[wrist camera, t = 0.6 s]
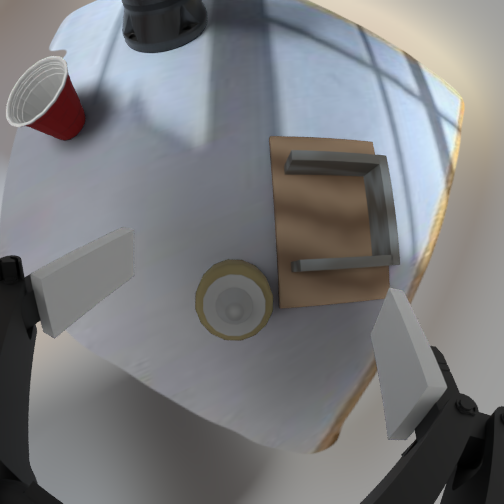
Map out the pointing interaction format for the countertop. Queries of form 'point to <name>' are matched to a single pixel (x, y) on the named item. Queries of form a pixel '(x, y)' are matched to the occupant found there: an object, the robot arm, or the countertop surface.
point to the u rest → (332, 221)
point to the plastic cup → (46, 100)
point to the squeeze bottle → (234, 300)
